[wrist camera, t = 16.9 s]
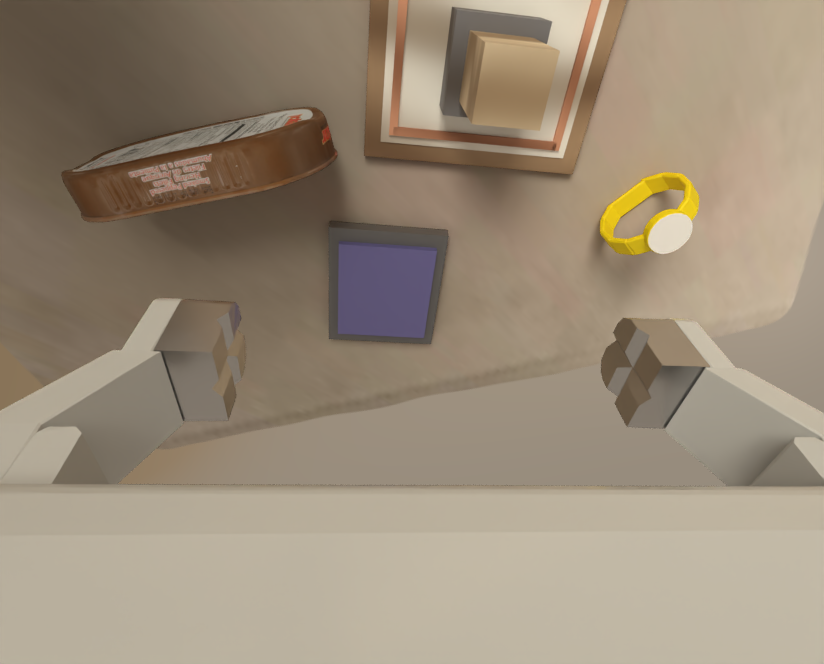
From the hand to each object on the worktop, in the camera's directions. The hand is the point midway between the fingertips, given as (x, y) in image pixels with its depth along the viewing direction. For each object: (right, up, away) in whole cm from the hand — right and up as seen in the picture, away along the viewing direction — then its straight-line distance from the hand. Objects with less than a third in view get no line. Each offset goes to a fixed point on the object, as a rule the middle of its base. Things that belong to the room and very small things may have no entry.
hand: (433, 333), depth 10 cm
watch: (+15, +10, +24) cm, 30 cm away
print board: (+4, +16, +18) cm, 24 cm away
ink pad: (-3, +4, +27) cm, 27 cm away
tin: (-13, +12, +20) cm, 27 cm away
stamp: (+4, +16, +17) cm, 24 cm away
